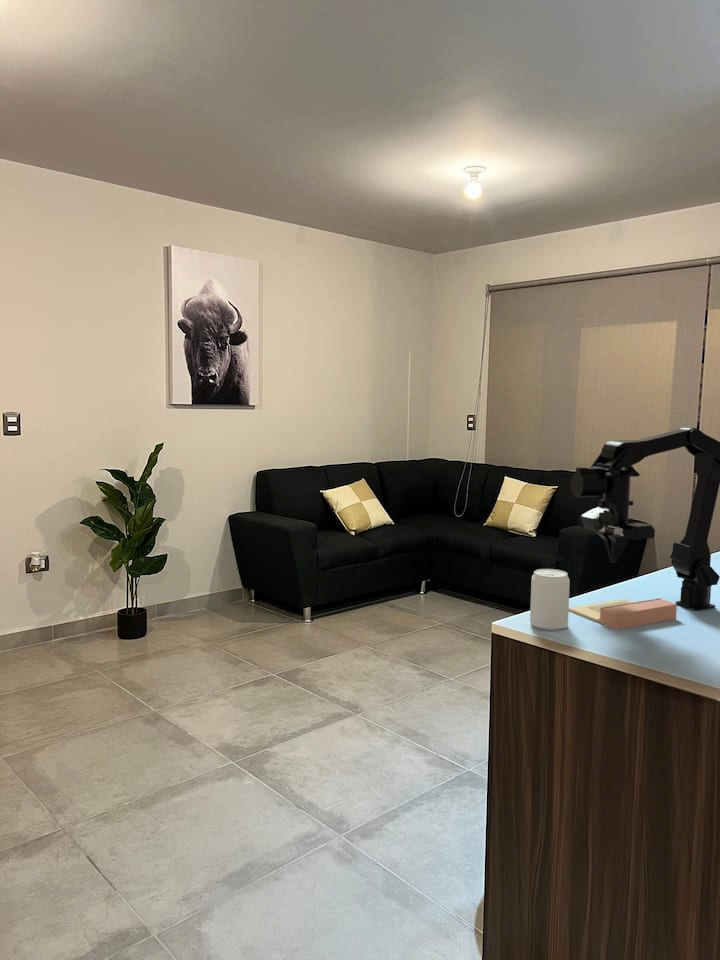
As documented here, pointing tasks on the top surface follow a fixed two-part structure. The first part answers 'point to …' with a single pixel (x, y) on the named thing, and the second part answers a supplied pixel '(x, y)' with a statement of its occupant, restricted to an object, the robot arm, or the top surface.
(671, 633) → the top surface
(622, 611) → the pink long block
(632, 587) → the top surface
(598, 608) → the tan rectangular slab
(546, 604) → the beverage can
